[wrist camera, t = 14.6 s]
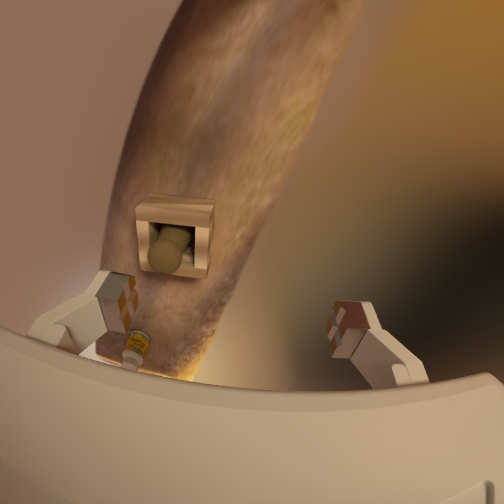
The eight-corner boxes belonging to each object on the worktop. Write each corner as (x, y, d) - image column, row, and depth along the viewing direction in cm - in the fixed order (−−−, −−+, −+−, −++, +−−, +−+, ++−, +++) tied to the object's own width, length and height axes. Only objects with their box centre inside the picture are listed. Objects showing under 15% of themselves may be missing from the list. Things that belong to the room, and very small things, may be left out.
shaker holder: (148, 193, 44) (135, 208, 39) (215, 200, 45) (209, 215, 40) (151, 251, 50) (140, 270, 45) (211, 258, 51) (206, 279, 46)
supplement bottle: (129, 339, 65) (118, 368, 57) (130, 326, 62) (118, 357, 54) (149, 346, 66) (139, 376, 58) (151, 334, 63) (140, 365, 55)
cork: (168, 243, 49) (149, 281, 40) (159, 213, 46) (135, 247, 37) (200, 239, 49) (186, 278, 40) (192, 208, 46) (175, 242, 36)
